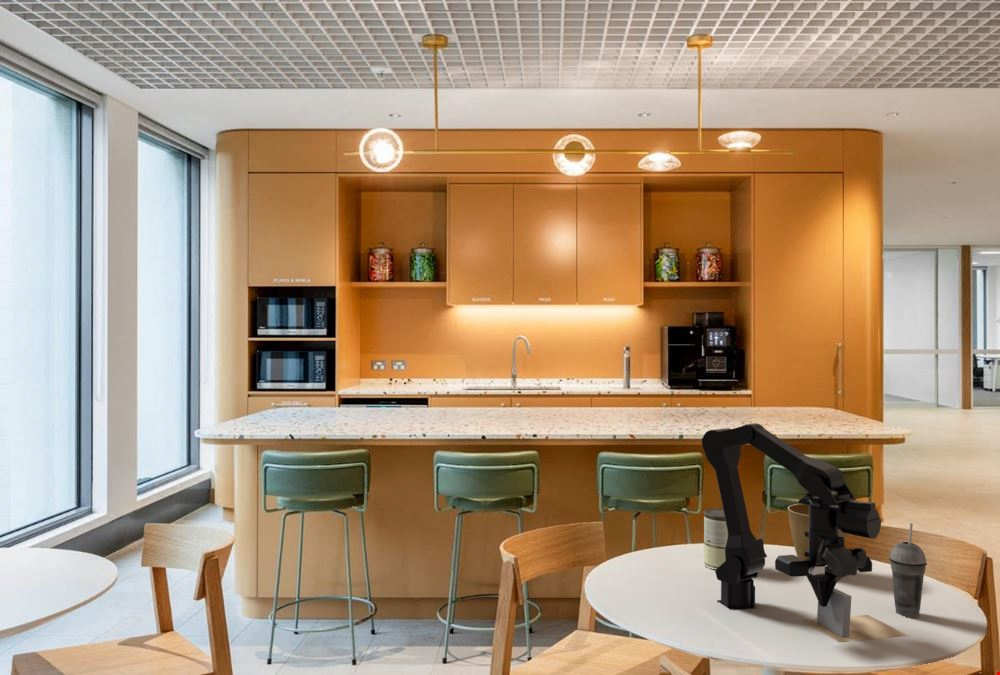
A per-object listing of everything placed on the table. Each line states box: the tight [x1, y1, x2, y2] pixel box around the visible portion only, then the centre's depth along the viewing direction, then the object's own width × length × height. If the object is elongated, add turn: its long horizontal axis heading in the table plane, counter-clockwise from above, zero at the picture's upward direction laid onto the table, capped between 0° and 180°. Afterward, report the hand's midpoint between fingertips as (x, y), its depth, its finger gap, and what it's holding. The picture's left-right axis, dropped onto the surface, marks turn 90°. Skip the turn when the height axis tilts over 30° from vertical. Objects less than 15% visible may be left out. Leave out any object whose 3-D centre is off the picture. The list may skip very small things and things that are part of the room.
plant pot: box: [787, 503, 848, 564], centre depth 202 cm, size 15×15×16 cm
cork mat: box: [801, 614, 910, 643], centre depth 162 cm, size 16×12×1 cm
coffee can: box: [703, 507, 728, 571], centre depth 207 cm, size 10×10×14 cm
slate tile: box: [816, 587, 852, 637], centre depth 161 cm, size 2×8×8 cm, turn 14°
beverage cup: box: [888, 522, 928, 618], centre depth 172 cm, size 7×7×20 cm
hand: (823, 606), depth 160 cm, fingers closed
